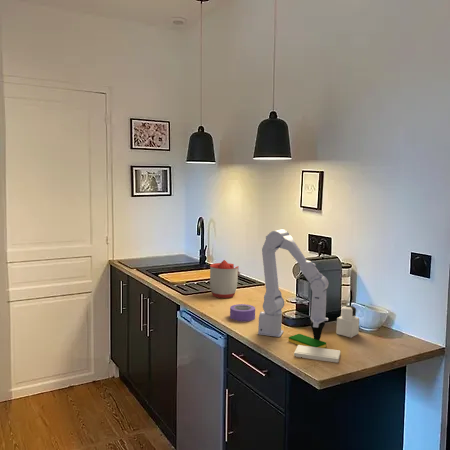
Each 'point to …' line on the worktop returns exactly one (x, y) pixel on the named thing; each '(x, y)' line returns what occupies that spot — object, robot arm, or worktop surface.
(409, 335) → the worktop surface
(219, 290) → the citrus juicer
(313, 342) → the dish sponge
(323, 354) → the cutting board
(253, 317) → the tape roll
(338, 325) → the medicine bottle
